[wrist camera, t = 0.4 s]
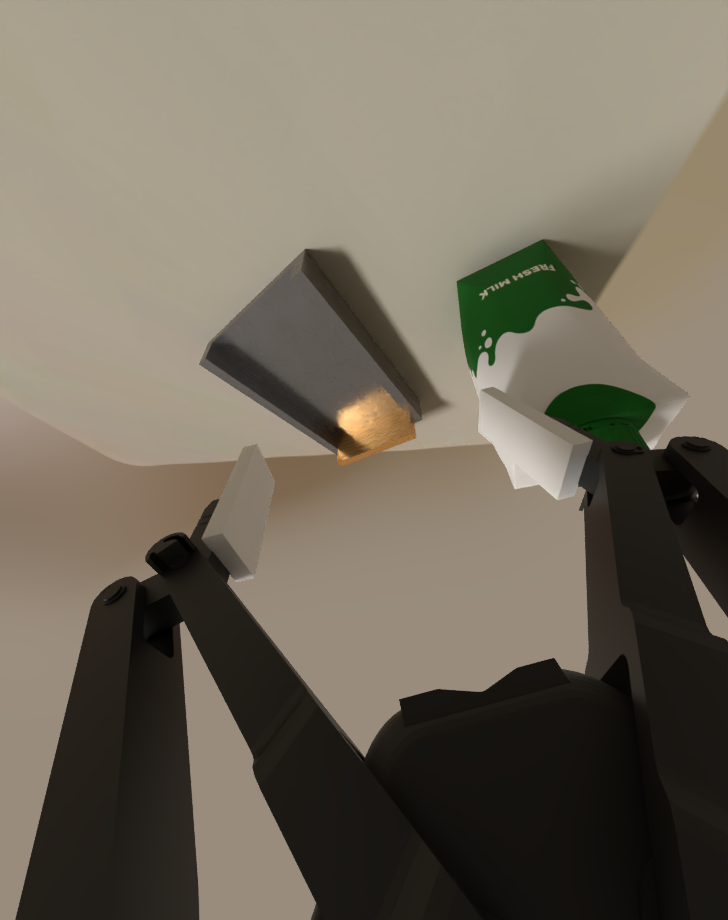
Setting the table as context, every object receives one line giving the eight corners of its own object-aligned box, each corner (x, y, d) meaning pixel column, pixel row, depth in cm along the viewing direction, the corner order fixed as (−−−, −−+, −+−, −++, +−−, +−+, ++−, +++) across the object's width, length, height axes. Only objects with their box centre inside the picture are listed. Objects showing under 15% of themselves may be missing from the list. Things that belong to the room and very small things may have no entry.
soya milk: (557, 219, 21) (754, 419, 11) (547, 319, 28) (661, 498, 18) (443, 276, 24) (510, 471, 14) (461, 352, 31) (513, 519, 21)
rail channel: (208, 342, 29) (191, 381, 26) (305, 249, 22) (297, 287, 19) (337, 437, 45) (336, 468, 42) (418, 400, 38) (424, 434, 35)
